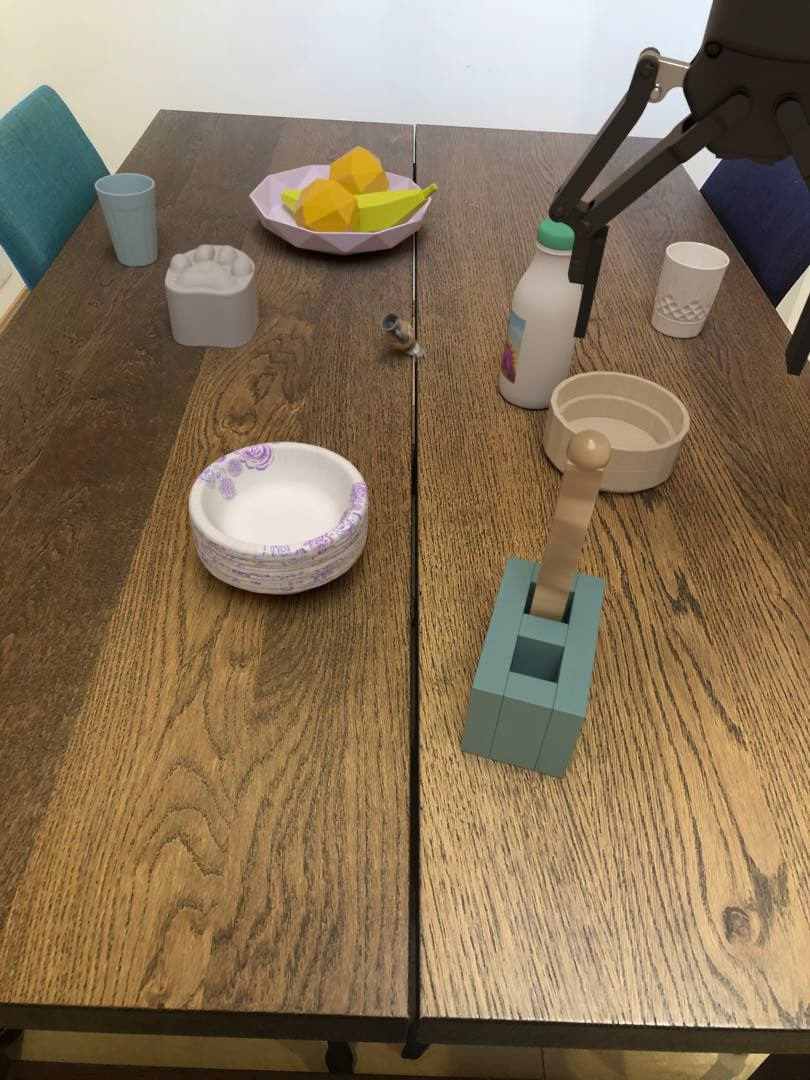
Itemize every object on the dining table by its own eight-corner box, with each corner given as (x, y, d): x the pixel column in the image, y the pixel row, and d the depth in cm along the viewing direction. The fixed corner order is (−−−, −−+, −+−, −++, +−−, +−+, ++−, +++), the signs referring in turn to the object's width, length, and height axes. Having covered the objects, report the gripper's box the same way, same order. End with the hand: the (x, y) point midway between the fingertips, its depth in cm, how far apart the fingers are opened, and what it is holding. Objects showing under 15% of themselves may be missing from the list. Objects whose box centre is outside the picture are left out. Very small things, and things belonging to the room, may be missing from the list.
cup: (147, 274, 113) (134, 198, 105) (99, 264, 114) (82, 188, 107) (175, 252, 118) (164, 178, 111) (129, 243, 119) (115, 169, 112)
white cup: (634, 322, 110) (653, 250, 103) (669, 306, 114) (690, 236, 107) (681, 347, 106) (705, 274, 99) (716, 329, 110) (742, 258, 103)
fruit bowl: (219, 226, 125) (211, 149, 117) (357, 189, 139) (358, 117, 131) (332, 298, 111) (331, 215, 103) (473, 248, 124) (482, 171, 117)
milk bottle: (570, 385, 98) (608, 220, 84) (551, 418, 93) (588, 248, 79) (510, 368, 100) (537, 204, 86) (488, 399, 95) (513, 230, 81)
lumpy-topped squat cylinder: (166, 344, 100) (154, 278, 94) (187, 294, 109) (178, 230, 103) (251, 349, 100) (245, 283, 94) (265, 298, 110) (261, 235, 104)
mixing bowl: (676, 431, 92) (691, 386, 88) (670, 510, 82) (687, 463, 78) (552, 406, 95) (561, 361, 91) (531, 479, 85) (541, 432, 81)
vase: (390, 372, 98) (392, 328, 94) (367, 351, 101) (368, 307, 97) (427, 361, 100) (431, 317, 96) (403, 341, 104) (406, 297, 99)
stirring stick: (550, 658, 68) (618, 426, 52) (545, 684, 66) (613, 451, 50) (517, 650, 68) (574, 417, 52) (511, 676, 66) (568, 442, 50)
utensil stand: (585, 643, 69) (606, 578, 64) (563, 779, 60) (585, 717, 54) (495, 621, 71) (508, 555, 65) (460, 750, 61) (471, 687, 56)
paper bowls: (250, 485, 82) (244, 420, 76) (391, 529, 78) (395, 464, 73) (164, 587, 71) (150, 520, 66) (322, 643, 68) (321, 577, 62)
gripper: (537, -60, 38) (487, 340, 53) (1124, -6, 34) (894, 412, 49) (558, -80, 44) (508, 289, 58) (1070, -35, 40) (877, 350, 54)
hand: (684, 346), depth 54 cm, fingers open, 13 cm apart
